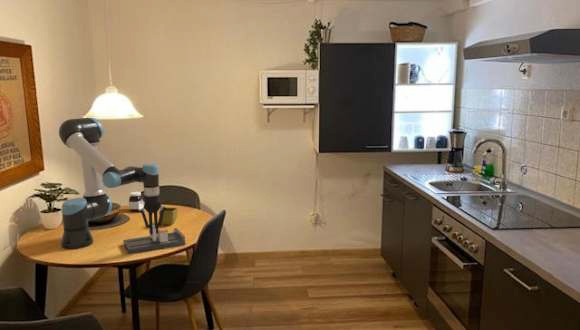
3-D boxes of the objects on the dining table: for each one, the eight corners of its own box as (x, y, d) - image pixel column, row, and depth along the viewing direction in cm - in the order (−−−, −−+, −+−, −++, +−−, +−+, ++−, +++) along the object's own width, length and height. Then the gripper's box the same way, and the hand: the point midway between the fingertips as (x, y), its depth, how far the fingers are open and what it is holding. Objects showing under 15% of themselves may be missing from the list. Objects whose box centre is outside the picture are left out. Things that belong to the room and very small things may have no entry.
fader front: (159, 242, 236) (159, 231, 235) (158, 240, 240) (157, 228, 239) (168, 241, 238) (167, 229, 237) (166, 238, 242) (165, 227, 241)
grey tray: (129, 254, 227) (128, 245, 227) (123, 244, 241) (122, 236, 241) (185, 244, 241) (184, 236, 240) (176, 236, 255) (176, 228, 254)
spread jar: (133, 208, 313) (132, 191, 311) (149, 208, 313) (148, 191, 311) (126, 212, 301) (125, 195, 299) (144, 212, 301) (143, 195, 299)
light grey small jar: (151, 238, 242) (150, 227, 241) (149, 236, 245) (148, 225, 244) (159, 237, 244) (158, 226, 243) (157, 235, 247) (156, 224, 246)
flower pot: (178, 222, 281) (178, 207, 279) (173, 226, 272) (172, 211, 271) (164, 221, 282) (163, 207, 280) (159, 225, 273) (158, 211, 272)
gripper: (139, 197, 226) (142, 244, 230) (166, 194, 232) (168, 240, 236) (137, 194, 233) (139, 239, 237) (163, 191, 239) (165, 235, 243)
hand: (154, 239), depth 236 cm, fingers closed
